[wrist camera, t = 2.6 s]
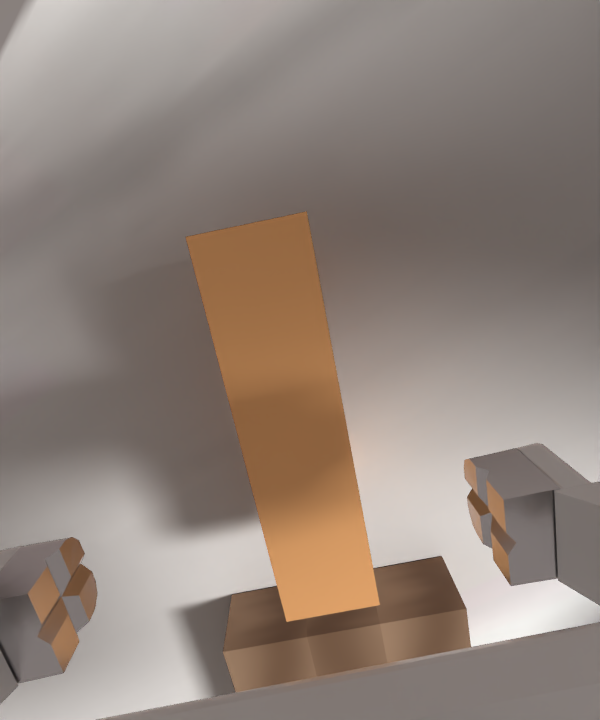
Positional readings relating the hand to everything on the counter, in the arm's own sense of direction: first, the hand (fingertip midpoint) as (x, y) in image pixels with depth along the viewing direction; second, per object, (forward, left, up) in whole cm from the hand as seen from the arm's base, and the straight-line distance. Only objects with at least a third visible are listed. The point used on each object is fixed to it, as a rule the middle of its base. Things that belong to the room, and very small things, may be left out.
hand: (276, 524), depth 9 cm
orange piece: (0, 0, -9) cm, 9 cm away
